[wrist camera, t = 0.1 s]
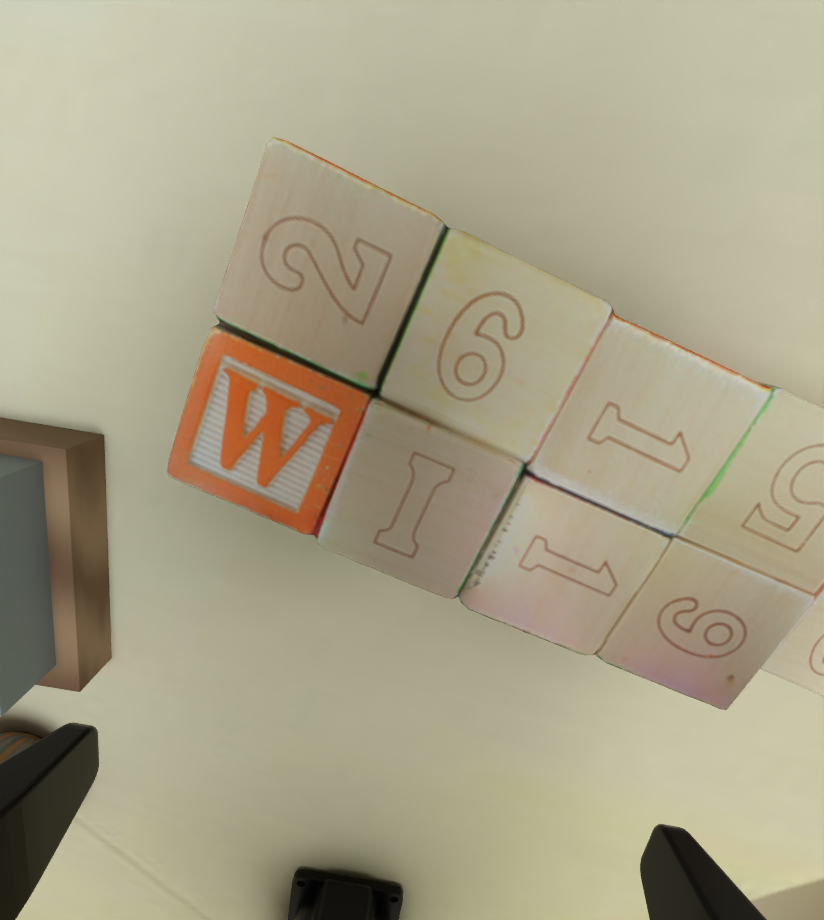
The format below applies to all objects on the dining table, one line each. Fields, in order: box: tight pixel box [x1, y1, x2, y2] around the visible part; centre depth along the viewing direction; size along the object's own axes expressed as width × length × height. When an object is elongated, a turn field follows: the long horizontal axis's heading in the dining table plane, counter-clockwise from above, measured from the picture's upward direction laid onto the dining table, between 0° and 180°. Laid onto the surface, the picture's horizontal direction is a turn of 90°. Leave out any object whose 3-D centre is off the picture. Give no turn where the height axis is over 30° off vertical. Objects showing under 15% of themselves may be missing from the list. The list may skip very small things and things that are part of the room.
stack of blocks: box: [167, 137, 824, 710], centre depth 15 cm, size 21×6×12 cm, turn 66°
